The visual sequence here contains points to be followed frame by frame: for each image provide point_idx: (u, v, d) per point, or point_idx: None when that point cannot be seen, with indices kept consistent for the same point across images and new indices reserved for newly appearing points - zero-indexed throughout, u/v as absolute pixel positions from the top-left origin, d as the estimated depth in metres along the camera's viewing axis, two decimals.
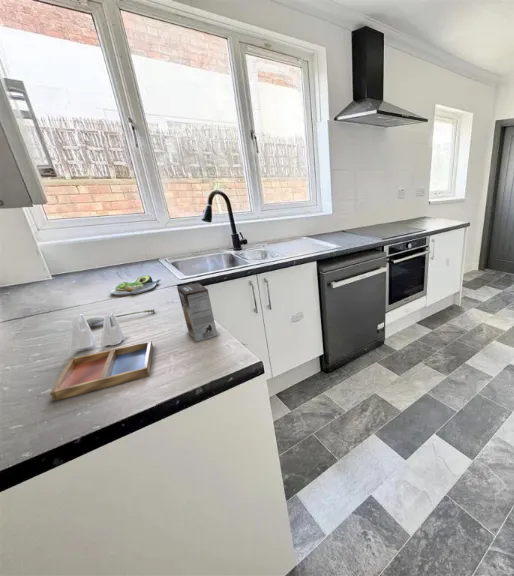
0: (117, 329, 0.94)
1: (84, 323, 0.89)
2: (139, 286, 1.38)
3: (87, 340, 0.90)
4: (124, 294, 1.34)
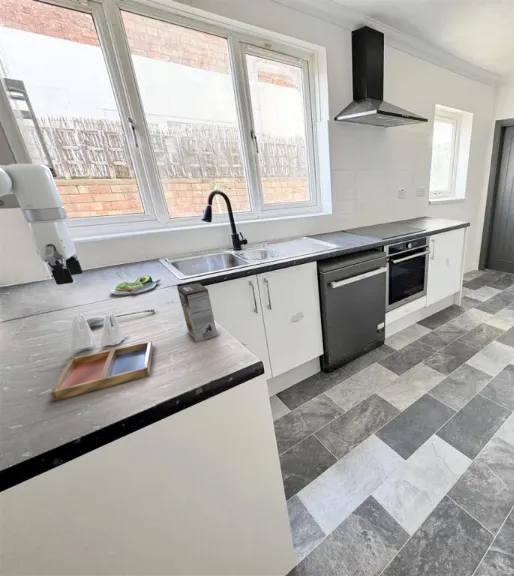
0: (117, 329, 0.94)
1: (84, 323, 0.89)
2: (139, 286, 1.38)
3: (87, 340, 0.90)
4: (124, 294, 1.34)
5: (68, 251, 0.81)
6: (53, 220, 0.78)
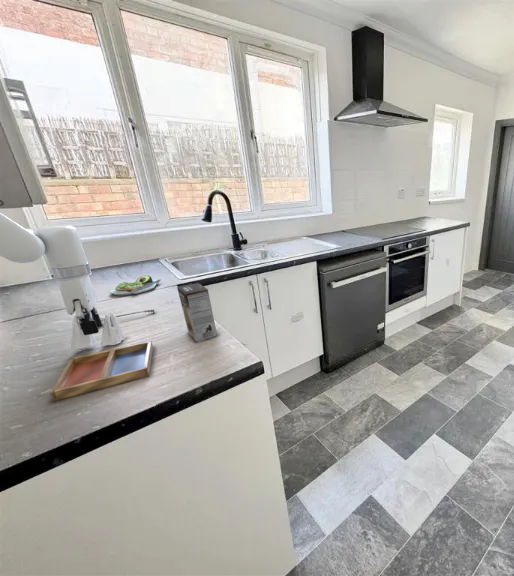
0: (117, 329, 0.94)
1: None
2: (139, 286, 1.38)
3: (87, 340, 0.90)
4: (124, 294, 1.34)
5: (91, 303, 0.88)
6: (79, 276, 0.84)
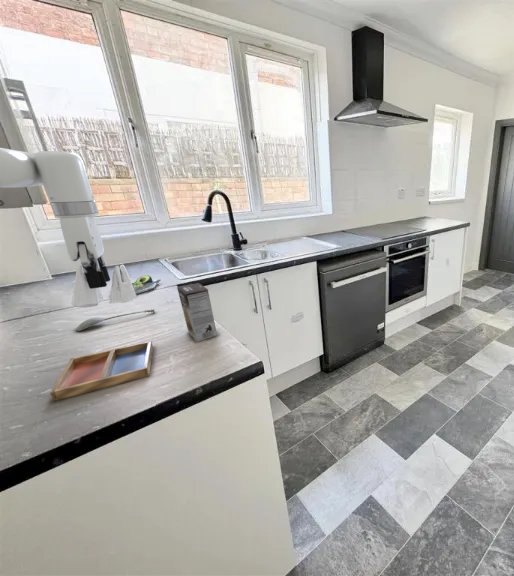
0: (128, 284, 0.80)
1: None
2: (139, 286, 1.38)
3: (93, 295, 0.76)
4: None
5: (98, 249, 0.73)
6: (84, 215, 0.70)
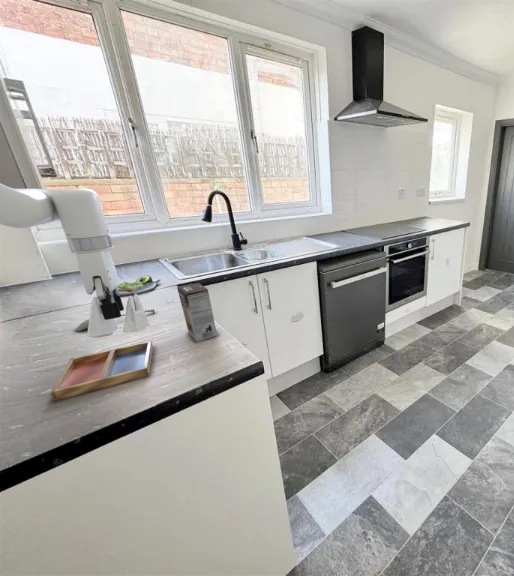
0: (142, 313, 0.81)
1: None
2: (139, 286, 1.38)
3: (108, 325, 0.77)
4: (124, 294, 1.34)
5: (113, 282, 0.75)
6: (100, 249, 0.71)
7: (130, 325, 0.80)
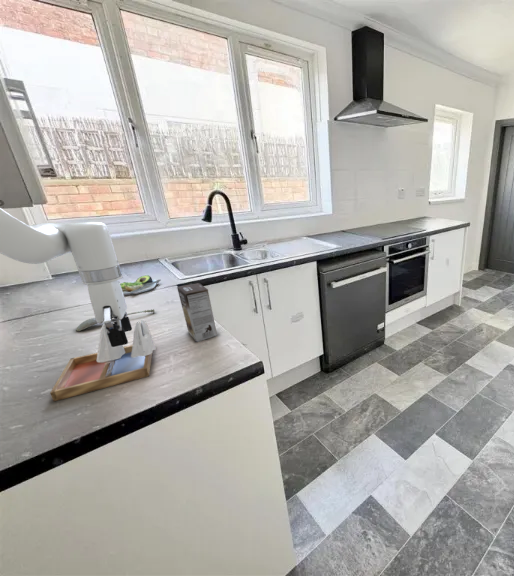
0: (149, 338, 0.83)
1: None
2: (139, 286, 1.38)
3: (116, 351, 0.80)
4: (124, 294, 1.34)
5: (122, 310, 0.77)
6: (110, 280, 0.74)
7: (138, 350, 0.82)
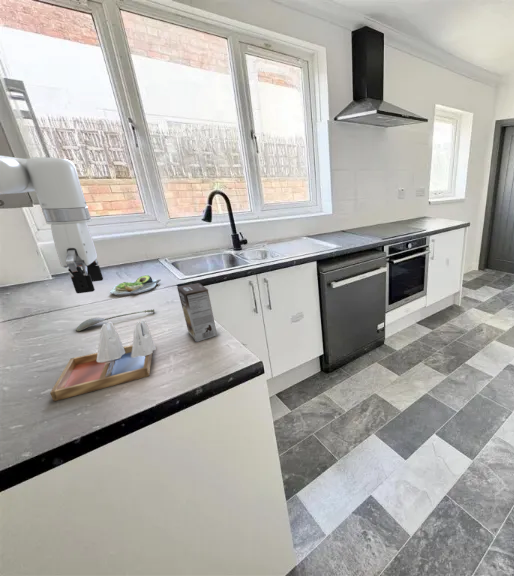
0: (149, 338, 0.83)
1: (113, 332, 0.79)
2: (139, 286, 1.38)
3: (116, 351, 0.80)
4: (124, 294, 1.34)
5: (90, 256, 0.73)
6: (76, 221, 0.69)
7: (138, 350, 0.82)
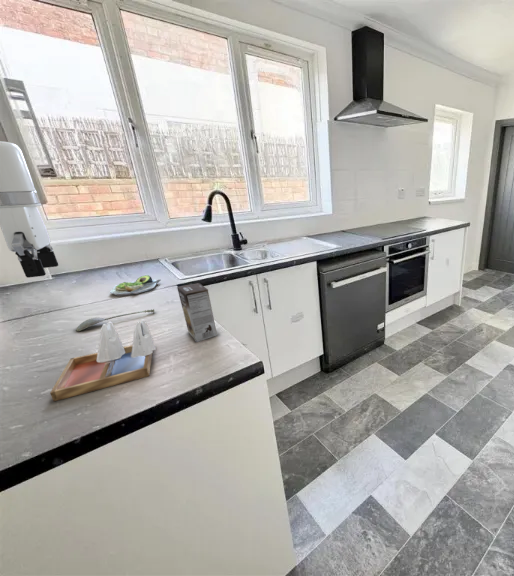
0: (149, 338, 0.83)
1: (113, 332, 0.79)
2: (139, 286, 1.38)
3: (116, 351, 0.80)
4: (124, 294, 1.34)
5: (40, 240, 0.73)
6: (23, 205, 0.69)
7: (138, 350, 0.82)
